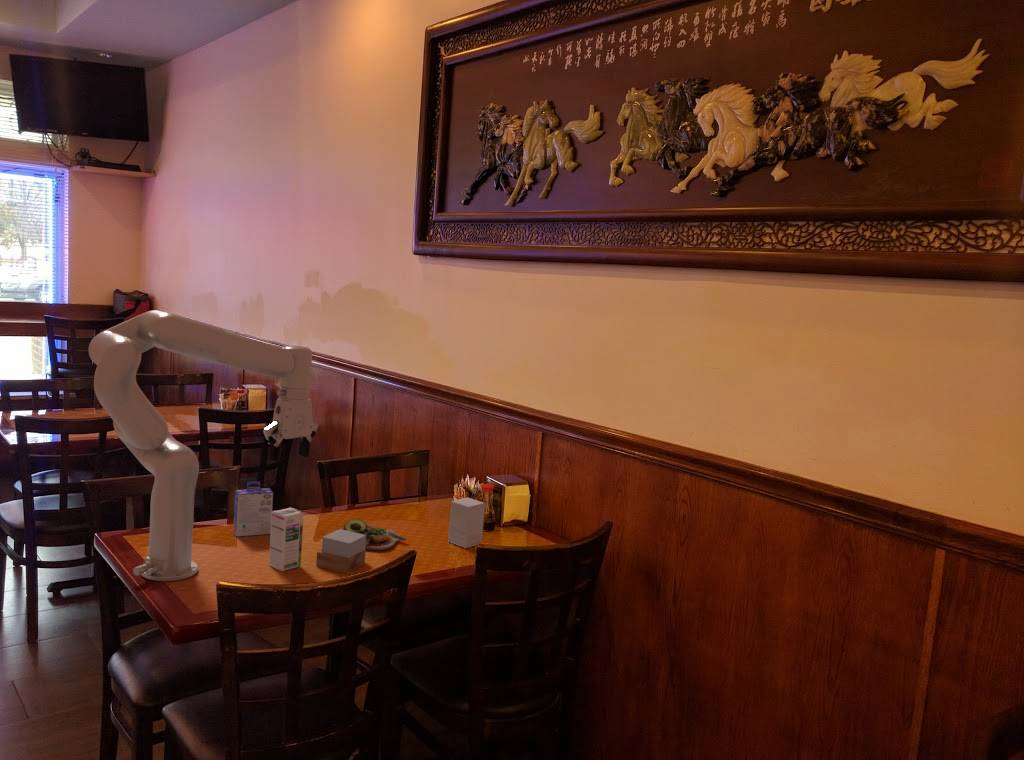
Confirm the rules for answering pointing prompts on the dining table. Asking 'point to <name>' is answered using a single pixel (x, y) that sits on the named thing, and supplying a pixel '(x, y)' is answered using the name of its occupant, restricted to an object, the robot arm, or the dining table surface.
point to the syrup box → (286, 539)
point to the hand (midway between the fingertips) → (289, 458)
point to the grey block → (343, 543)
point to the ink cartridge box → (253, 510)
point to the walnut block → (339, 561)
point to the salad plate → (373, 534)
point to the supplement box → (466, 522)
